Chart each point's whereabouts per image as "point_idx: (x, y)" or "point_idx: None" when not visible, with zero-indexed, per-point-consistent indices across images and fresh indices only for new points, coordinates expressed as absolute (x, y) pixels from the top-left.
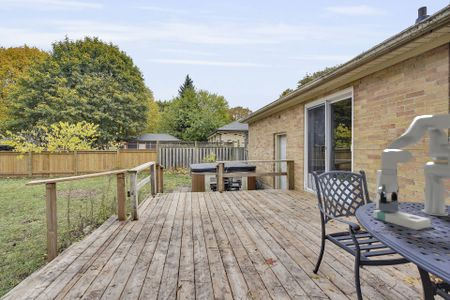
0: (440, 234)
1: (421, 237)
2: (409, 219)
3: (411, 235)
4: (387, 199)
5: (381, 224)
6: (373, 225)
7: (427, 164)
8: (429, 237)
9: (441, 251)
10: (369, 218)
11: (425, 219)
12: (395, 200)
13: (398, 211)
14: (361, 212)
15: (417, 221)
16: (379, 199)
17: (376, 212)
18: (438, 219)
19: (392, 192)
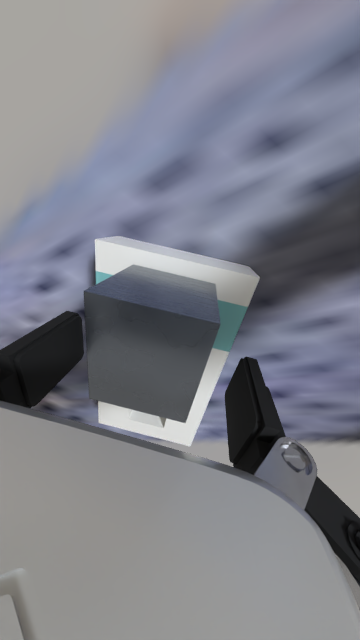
0: (131, 433)
1: (58, 410)
2: (104, 405)
3: (47, 394)
4: (173, 354)
5: (52, 310)
6: (6, 294)
7: None
8: (78, 420)
9: None
10: (84, 228)
11: (163, 437)
12: (188, 408)
13: (227, 351)
14: (189, 76)
15: (105, 423)
16: (84, 298)
17: (98, 263)
18: (348, 429)
19: (261, 473)
